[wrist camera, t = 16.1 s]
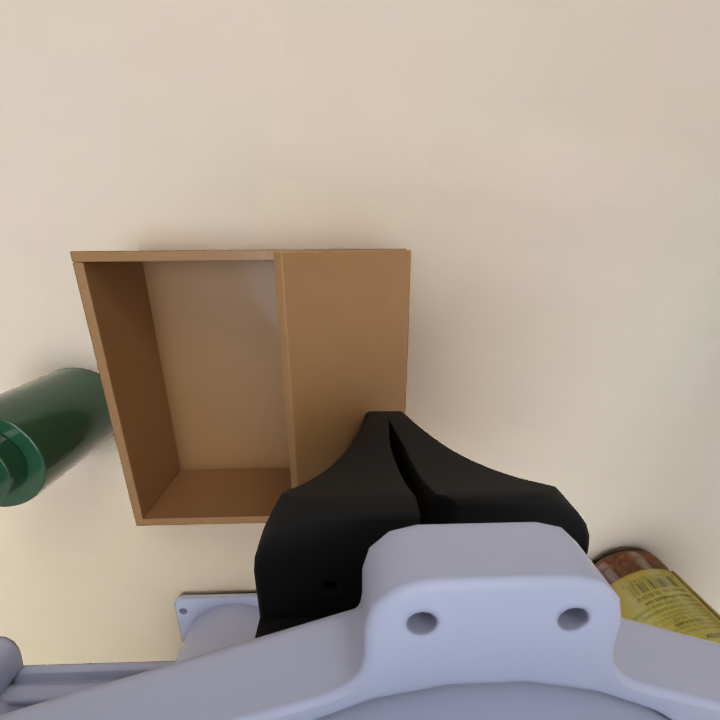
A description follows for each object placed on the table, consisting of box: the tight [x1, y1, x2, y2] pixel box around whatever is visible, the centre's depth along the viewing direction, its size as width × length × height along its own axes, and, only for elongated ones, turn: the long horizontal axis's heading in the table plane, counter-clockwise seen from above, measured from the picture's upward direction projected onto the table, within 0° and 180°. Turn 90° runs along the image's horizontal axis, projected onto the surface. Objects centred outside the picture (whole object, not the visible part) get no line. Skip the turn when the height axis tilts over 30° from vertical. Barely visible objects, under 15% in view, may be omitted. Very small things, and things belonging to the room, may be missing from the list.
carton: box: [70, 249, 406, 526], centre depth 17 cm, size 13×13×4 cm
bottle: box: [0, 368, 114, 507], centre depth 16 cm, size 5×5×8 cm
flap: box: [273, 250, 411, 489], centre depth 13 cm, size 6×13×1 cm
